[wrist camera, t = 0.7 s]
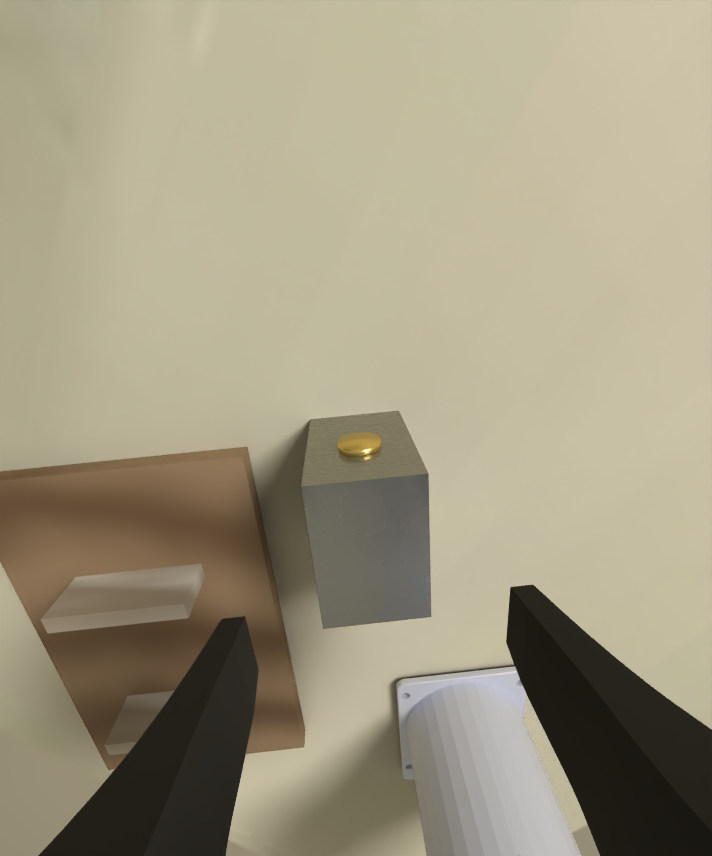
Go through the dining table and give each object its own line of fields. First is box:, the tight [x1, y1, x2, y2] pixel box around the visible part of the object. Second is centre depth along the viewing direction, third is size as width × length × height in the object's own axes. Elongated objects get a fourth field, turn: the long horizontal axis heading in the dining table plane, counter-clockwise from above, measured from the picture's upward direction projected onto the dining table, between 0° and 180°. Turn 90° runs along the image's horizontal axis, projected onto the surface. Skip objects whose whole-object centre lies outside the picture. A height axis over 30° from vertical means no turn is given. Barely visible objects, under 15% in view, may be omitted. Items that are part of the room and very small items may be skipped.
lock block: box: [301, 411, 431, 629], centre depth 16 cm, size 6×4×6 cm, turn 5°
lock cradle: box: [0, 447, 305, 770], centre depth 20 cm, size 20×12×4 cm, turn 5°
